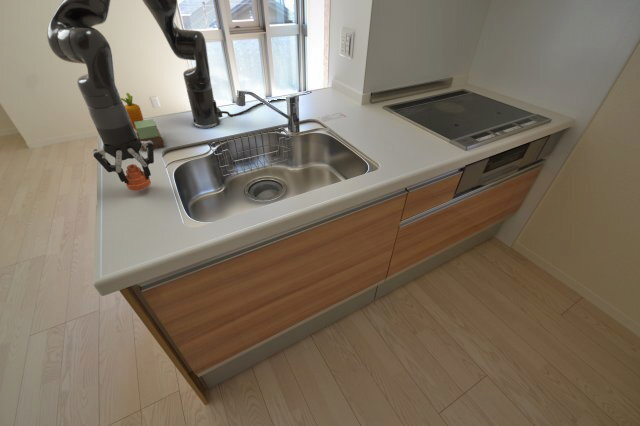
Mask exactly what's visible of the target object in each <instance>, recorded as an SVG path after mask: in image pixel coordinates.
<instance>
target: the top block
mask: <svg viewBox="0 0 640 426" xmlns="http://www.w3.org/2000/svg"><path fill="white" fill-rule="evenodd" d="M134 123H135V126H136V129H137V131H136V132H138V134H139V137H140V140H141V139H147V138H153V137H158V136H159V133H160V132H159V133H158V130H159V129H158V127H157V125H156V122H155V120H154V118H149V119H143V121H136V122H134ZM157 129H158V130H157Z"/></svg>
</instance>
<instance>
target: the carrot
mask: <svg viewBox="0 0 640 426" xmlns="http://www.w3.org/2000/svg"><path fill="white" fill-rule="evenodd" d="M125 94H126V97H125V98H123V97H121V100H122V102H125V105H124V106H125V108H126V110H127V112H128V114H129V118H130V120H131V123H132V125H133V128H134V131H135V132H137V129H136V126H135V123H134V122H136V121H143V120H144V117H143V113H142V110H141V107H140V105H138V104H137V103H133V95H131V94H130V93H129V92H126V93H125Z"/></svg>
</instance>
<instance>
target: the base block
mask: <svg viewBox="0 0 640 426" xmlns="http://www.w3.org/2000/svg"><path fill="white" fill-rule="evenodd" d="M157 130H158V133H159V136H158V137H153V138H147V139H141V140H140V137H139V134H138V132H137V131H135V133H136V136H137V138H138V139H139V140H140V141H147V140H151V141H152V143H153V150H156V149H162V148H165V144H164V141H163V138H162V135H161V132H160V131H159V128H157ZM141 151H142V152H147V150H146V149H145V148H144V146H141Z"/></svg>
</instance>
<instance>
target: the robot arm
mask: <svg viewBox="0 0 640 426" xmlns="http://www.w3.org/2000/svg"><path fill="white" fill-rule="evenodd" d="M111 1H112V0H62V1H61V2H60V4H59V5H58V7H57V9H56V10H55V12H54V14H53V15H52V17H51V18H50V21H49V23H48V26H47V31H46V38H47V43H48V46H49V48H50V50H51V52H52V53H53V54H54V55H55V56H56V57H57V58H59V59H60V60H62V61H64V62H68V63H71V64H73V63H74V64H81V65H85V66H86V69H87V74H83V75H81V76H79V77H78V78H77V80H76V82H77V87H78V89H79V91H80V93H81V96H82V98H83V101H84V102H85V105H86V106H87V110H88V113H89V116H90V118H91V120H92V122H93V124H94V127H95V129H96V131H97V133H98V135H99V138H100V140H101V141H102V143H103V146H102V148H99V149H97V148H94V149H93V151H92V154H93V158H94V159H95V160H96V161H97V162H98V163H99V164H100V165H101V166H102V168H104V169H105V170H106V172H108V173H113V172H115V173H116V174H117V176H118V178H119V180H120V182H121V183H124V184H126V183H128V181H127V179H126V174H125V173H126V172H125V171H124V169H123V167H122V166H123V165H122V163H123V162H124V161H126V160H130V159H132V160H133V159H135V161H137V162H138V163H139V164H140V165H141V169H142V171H143V172H144V173H145V175H146V178H150V176H151V175H152V173H151V170H150V167H149V165H151V164H154V162H155V155H154V150H155V149H153V143H152V141H151V140H147V141H140V140H139V139H138V136H137V133H136V130H135V129H134V128H133V125H132V123H131V120H130V118H129V114H128V112H127V110H126V108H125V106H126V105H125V104H124V103H123V102H124V101H123V100H121V98H122V97H121V95H120V92H119V90H118V87H117V85H116V80H115V70H114V58H113V52H112V48H111V45H110V43H109V41H108V40H107V38H106V37H105V36H104V35H103V34H102V32H101V31H99V30H98V29H96V28H95V26H99V25H103V24H104V23H105V22H107V20H108V16H109V12H110V7H111ZM141 1H142V3H143V4H144V5H145V6H146V8H147V9H148V11H149V12H150V14H151V15H152V17H153V19H154V20H155V22H156V23H157V25H158V26H159V28H160V30H161V32H162V34H163V36H164V38H165V39H166V41H167V43H168V45H169V47H170V49H171V51H172V53H173V54H174V55H175V56H176V57H177V58H178V59H180V60H185V61H195V66H194V67H191V68H188V69H186V70H184V71H183V74H182V75H183V80H184V85H185V89H186V92H187V97H188V102H189V106H190V110H191V115H192V121H193V125H194V126H195V127H197V128H198V129H199V128H200V129H209V128H210V129H211V128H214V127H216V126H217V125H218V126H219V125H221V123H220V118H223V114H226V115H227V116H228V117H236V116H240V115H242V114H245V113H247V112H249V111H251V110H252V109H255V108H257V107H259V106H261V105H264V104H263V103H261V102H258V103H256V104H253V105H251V106H250V107H248V108H246V109H245V110H242V111H240V112H237V113H230V112H229V111H227V110H221V109H220V107H217V101H216V100H215V98H214V92H213V87H212V80H211V74H210V73H211V71H210V63H209V56H208V48H207V47H208V46H207V41H206V38H205V36H204V34H203V33H202V32H201V31H199V30H192V29H181V28H180V27H178V25H177V24H176V22H175V18H176V14H177V9H178V0H141ZM276 99H277V100H274V99H270V100H271V101H270V102H269V103H273V102H279V101H286V100H285V99H280V98H276ZM141 146H144V148H145V149H146V155H147V157H146V158H145V157H144V156H143V155H142V154H141V152H140V150H141V149H142V147H141ZM106 154H108V155H109V156H112V157H113V158H114V164H111V163H110V161H109V160H108V159H107V158H106Z"/></svg>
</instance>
